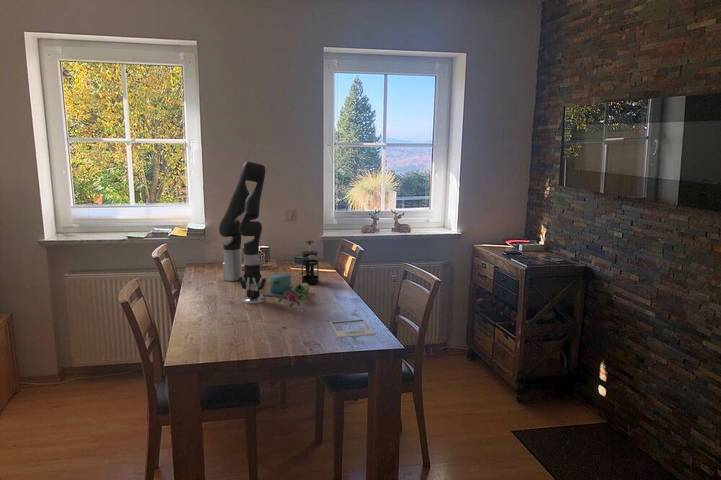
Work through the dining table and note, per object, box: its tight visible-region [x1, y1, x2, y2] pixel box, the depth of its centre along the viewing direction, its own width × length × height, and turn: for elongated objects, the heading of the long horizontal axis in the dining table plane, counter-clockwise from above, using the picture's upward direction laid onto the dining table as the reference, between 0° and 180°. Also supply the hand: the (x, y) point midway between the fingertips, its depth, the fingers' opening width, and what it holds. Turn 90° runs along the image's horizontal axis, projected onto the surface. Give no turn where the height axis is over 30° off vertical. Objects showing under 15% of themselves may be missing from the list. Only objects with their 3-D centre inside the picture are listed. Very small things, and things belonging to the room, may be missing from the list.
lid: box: [241, 289, 266, 305], centre depth 262 cm, size 11×11×5 cm
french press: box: [300, 240, 320, 286], centre depth 291 cm, size 12×9×23 cm
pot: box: [262, 273, 296, 299], centre depth 273 cm, size 14×14×9 cm
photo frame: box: [329, 318, 375, 339], centre depth 222 cm, size 15×1×18 cm
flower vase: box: [277, 282, 311, 308], centre depth 258 cm, size 12×12×35 cm
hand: (253, 297), depth 262 cm, fingers open, 3 cm apart
